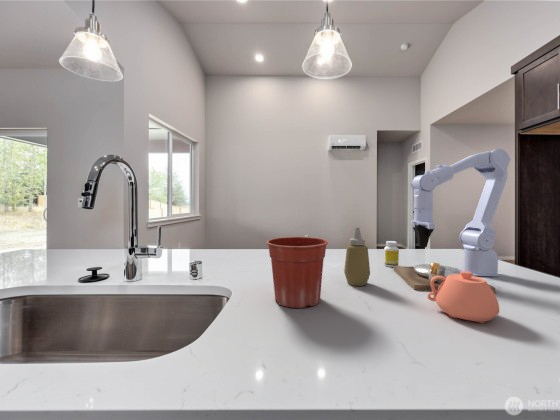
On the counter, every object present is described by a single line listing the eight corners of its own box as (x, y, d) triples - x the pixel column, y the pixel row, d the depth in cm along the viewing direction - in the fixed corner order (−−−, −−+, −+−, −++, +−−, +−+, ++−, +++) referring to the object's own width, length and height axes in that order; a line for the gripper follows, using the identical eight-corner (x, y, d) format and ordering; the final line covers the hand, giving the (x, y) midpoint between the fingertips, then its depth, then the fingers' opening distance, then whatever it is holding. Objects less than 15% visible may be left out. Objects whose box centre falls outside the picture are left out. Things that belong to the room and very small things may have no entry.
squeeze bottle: (371, 281, 88) (372, 226, 87) (368, 289, 81) (369, 229, 80) (346, 278, 92) (346, 226, 91) (341, 285, 84) (341, 228, 83)
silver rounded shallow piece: (418, 265, 99) (418, 254, 99) (464, 271, 90) (464, 259, 90) (407, 276, 86) (407, 263, 86) (460, 284, 77) (460, 270, 77)
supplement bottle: (400, 267, 106) (401, 242, 105) (386, 267, 106) (387, 242, 105) (395, 264, 111) (395, 240, 111) (381, 264, 111) (382, 240, 111)
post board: (456, 272, 99) (456, 257, 99) (495, 293, 77) (496, 274, 77) (393, 270, 102) (393, 255, 102) (414, 289, 80) (414, 271, 80)
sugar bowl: (503, 332, 55) (505, 283, 54) (425, 316, 62) (426, 273, 62) (494, 311, 65) (495, 269, 65) (428, 299, 72) (429, 262, 72)
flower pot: (258, 294, 77) (258, 238, 76) (308, 286, 84) (308, 235, 83) (281, 317, 62) (281, 248, 61) (340, 305, 68) (340, 243, 68)
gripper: (404, 208, 103) (404, 243, 103) (419, 209, 88) (418, 250, 89) (424, 208, 102) (423, 243, 102) (442, 209, 87) (441, 251, 88)
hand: (422, 247), depth 96 cm, fingers closed
